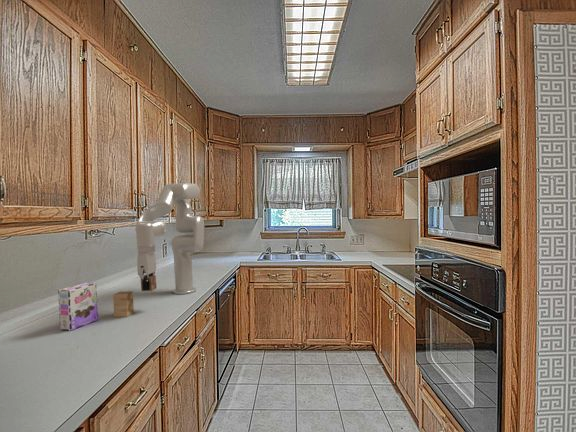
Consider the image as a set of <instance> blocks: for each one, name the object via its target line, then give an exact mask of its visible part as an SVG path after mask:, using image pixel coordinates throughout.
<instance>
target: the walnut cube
mask: <svg viewBox="0 0 576 432" xmlns="http://www.w3.org/2000/svg"><path fill="white" fill-rule="evenodd" d="M144 277H146V276H144ZM148 281H149V284H150V290H143V288H142V281H141V280H140V288H141V289H140V290H141V292H152V291H154V290H156V289H157V275H152V276H149V279H148Z"/></svg>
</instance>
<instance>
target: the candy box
mask: <svg viewBox="0 0 576 432" xmlns="http://www.w3.org/2000/svg"><path fill="white" fill-rule="evenodd" d="M57 292H58V311H59V314H58V315H59V330H62V331H63V330H64V331H69V332H72V331H74V330H76V329H78V328H82V327H84V326H87V325H89V324H92V323H95V322H96V321H97V322H98V321H99V312H98V311H99V310H98V309H99V308H98V295H97V293H98V292H97V283H96V282H83V283H81V284H77V285H72V286H69V287H65V288H64V287H63V288H62V289H61V288H60V289H58V290H57Z"/></svg>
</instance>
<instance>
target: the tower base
mask: <svg viewBox="0 0 576 432" xmlns="http://www.w3.org/2000/svg"><path fill="white" fill-rule="evenodd" d="M134 313H135V309H134V302H133V303H131V304H129V305H127V306H114V305H113V317H114V318H128V317H130V316H131V315H133V314H134Z"/></svg>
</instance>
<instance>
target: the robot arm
mask: <svg viewBox="0 0 576 432" xmlns="http://www.w3.org/2000/svg"><path fill="white" fill-rule="evenodd" d="M200 192H201V189H200V186H199V185H198V184H197V183H186V182H179V183H168V184H165V185H164V186H163V187H162V189H161V192H160V194H159V196H158V198H157V200H156V202H155V203H154V204H152V205H151V206H149V207H148V208H147V209H145V210H144V211H143V212H142V213H141V214H140V216H139V217H138V219H137V222H136V224H135V230H134V231H135V234H136V247H137V248H136V249H137V261H136V262H137V275H138V276H139V278H140V282H141V281H142V288H143V290H150V284H149V281H148V279H149V276H152V275H155V274H156V271H157V263H156V261H157V260H156V255H155V252H156V249H155V248H156V247H155V237H163V236H164V235H165V234H166V233H167V230H168V228H167V224H166V223H165V222H164V221H163V220H162V221H161V220H156V219H159V218H161V217H165V216H166V215H168V214H170V213H171V212H172V210H173V209H174V206H175V210H176V211H175V222H174V223H175V226H174V227H175V231H176V232H177V233H181V234H179V235H175V236H174V237H172V238H171V244H170V245H171V249H172V255H173V265H174V266H173V267H174V284H175V288H174V289H173V290H172V294H176V295H185V294H191V293H194V292H196V291H197V288H196V287H194V280H193V277H194V276H193V261H192V257H191V255H190V254H189V253H199V252H201V251H202V250H203V249H204V244H205V221H204V218H203V217H202V216H200V215H192V212H193V209H192V206H191V204H190V202H189V201H188V200H196V199H198V198H199V196H200V195H201V193H200ZM182 233H184V234H182ZM187 233H188V234H187ZM190 233H191V234H190ZM144 276H146V277H144Z"/></svg>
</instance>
